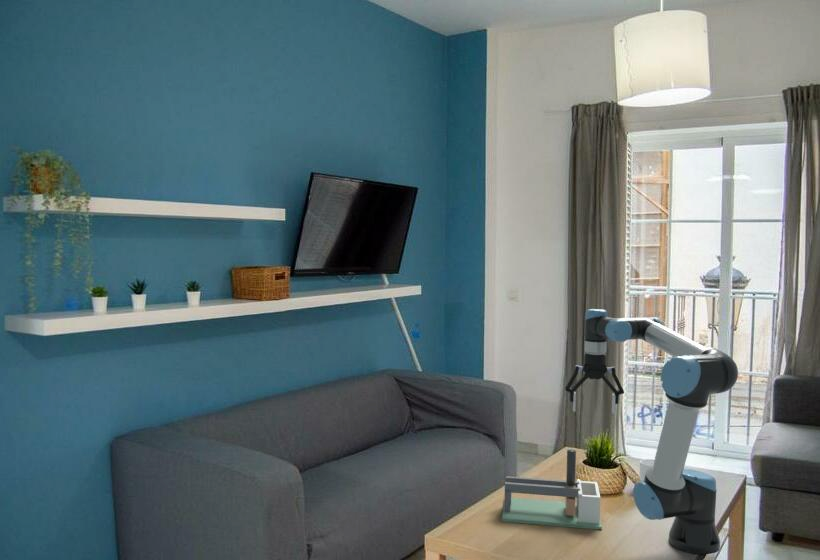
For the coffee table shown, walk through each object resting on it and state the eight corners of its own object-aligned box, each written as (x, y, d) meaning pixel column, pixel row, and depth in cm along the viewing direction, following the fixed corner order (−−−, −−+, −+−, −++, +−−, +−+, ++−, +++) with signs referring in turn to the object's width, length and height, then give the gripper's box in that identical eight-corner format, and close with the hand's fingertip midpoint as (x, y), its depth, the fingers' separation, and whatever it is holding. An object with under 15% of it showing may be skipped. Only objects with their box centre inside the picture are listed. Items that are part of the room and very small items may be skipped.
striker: (575, 515, 242) (576, 455, 241) (566, 515, 243) (567, 454, 241) (573, 504, 252) (575, 446, 250) (565, 504, 252) (566, 446, 251)
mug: (657, 482, 282) (658, 456, 281) (673, 488, 274) (674, 462, 274) (634, 486, 277) (635, 460, 276) (650, 493, 269) (651, 467, 268)
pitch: (601, 529, 236) (602, 497, 235) (501, 521, 242) (502, 489, 241) (597, 507, 255) (598, 477, 255) (505, 499, 261) (505, 470, 261)
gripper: (630, 352, 253) (628, 411, 255) (559, 349, 257) (557, 407, 259) (633, 356, 246) (631, 416, 247) (559, 353, 250) (558, 412, 252)
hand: (593, 411), depth 253 cm, fingers open, 13 cm apart
